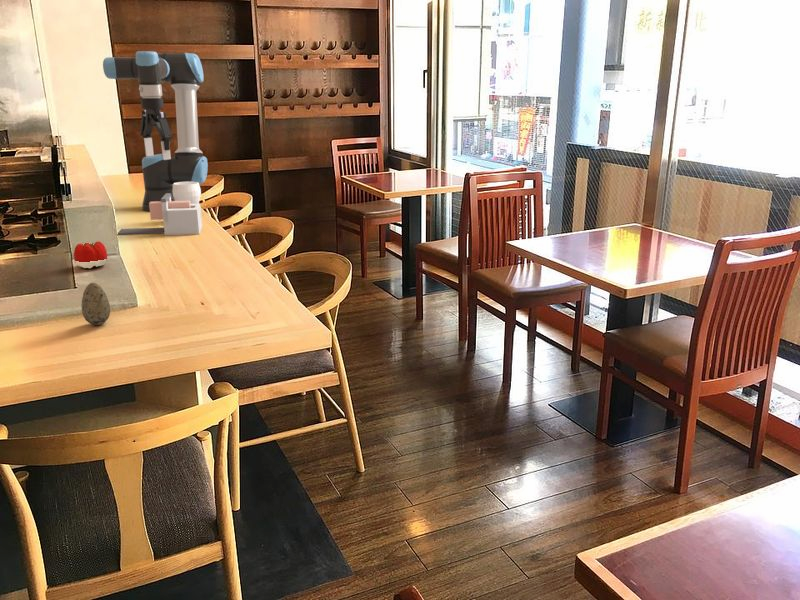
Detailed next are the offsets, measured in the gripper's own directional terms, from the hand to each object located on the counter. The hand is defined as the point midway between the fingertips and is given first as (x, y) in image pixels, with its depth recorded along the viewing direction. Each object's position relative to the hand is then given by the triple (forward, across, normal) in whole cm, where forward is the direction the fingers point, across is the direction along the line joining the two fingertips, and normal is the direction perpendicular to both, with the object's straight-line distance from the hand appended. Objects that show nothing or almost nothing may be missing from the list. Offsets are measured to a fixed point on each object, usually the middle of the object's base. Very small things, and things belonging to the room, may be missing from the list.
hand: (158, 157), depth 248 cm
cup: (+27, -6, +13) cm, 30 cm away
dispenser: (+26, +10, +2) cm, 28 cm away
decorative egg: (+24, +89, -61) cm, 110 cm away
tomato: (+25, +38, -42) cm, 62 cm away
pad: (+26, 0, -10) cm, 28 cm away
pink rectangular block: (+21, +7, -1) cm, 23 cm away
